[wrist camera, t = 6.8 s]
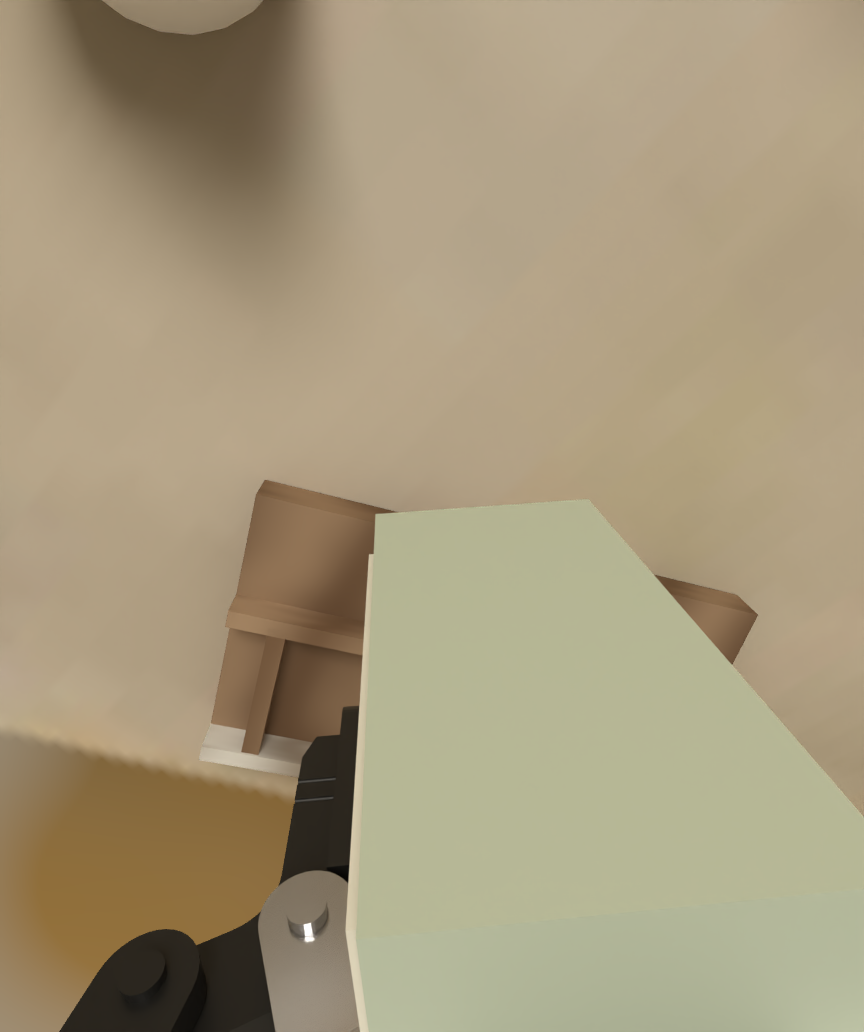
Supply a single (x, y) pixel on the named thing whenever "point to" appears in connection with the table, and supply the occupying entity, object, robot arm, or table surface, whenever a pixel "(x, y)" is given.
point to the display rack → (333, 628)
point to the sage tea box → (580, 801)
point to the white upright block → (184, 13)
